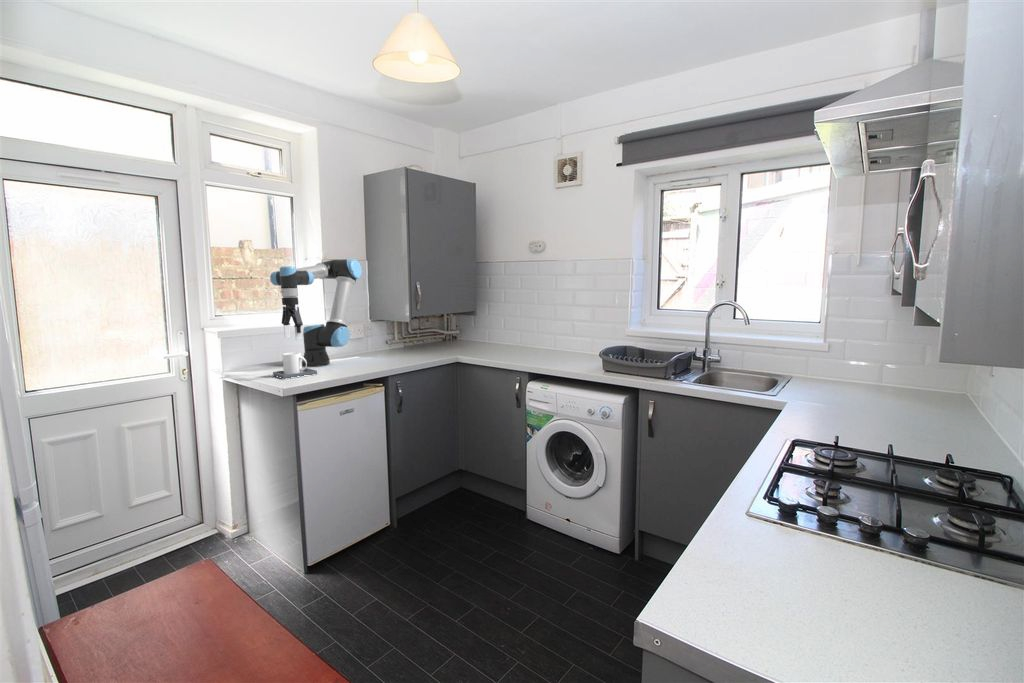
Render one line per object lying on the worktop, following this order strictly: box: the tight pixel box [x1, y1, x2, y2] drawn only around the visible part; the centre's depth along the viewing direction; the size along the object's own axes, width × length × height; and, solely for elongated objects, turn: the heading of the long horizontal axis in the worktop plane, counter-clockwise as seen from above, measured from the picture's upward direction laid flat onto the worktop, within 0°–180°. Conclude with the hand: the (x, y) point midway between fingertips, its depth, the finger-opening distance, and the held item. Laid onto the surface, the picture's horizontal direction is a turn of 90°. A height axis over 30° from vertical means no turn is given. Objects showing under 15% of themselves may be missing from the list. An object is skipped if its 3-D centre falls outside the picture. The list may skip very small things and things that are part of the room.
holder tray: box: [272, 367, 318, 380], centre depth 247 cm, size 17×15×2 cm
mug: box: [282, 351, 308, 375], centre depth 247 cm, size 9×12×11 cm
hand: (293, 338), depth 246 cm, fingers open, 13 cm apart
